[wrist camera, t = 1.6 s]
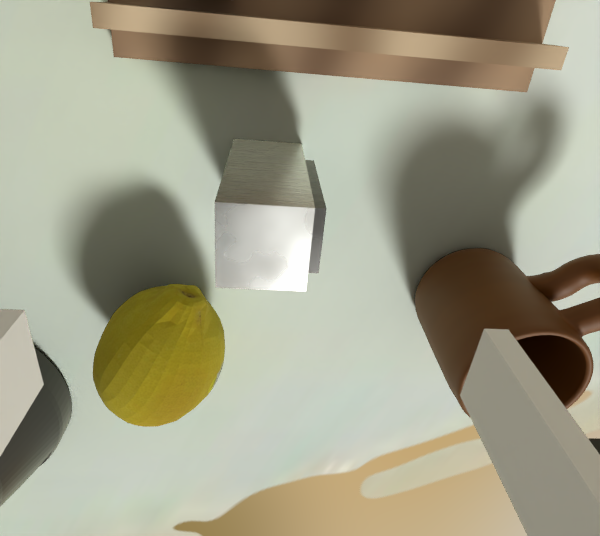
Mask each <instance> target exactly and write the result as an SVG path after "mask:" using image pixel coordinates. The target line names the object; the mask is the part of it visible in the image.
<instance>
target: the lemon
mask: <svg viewBox="0 0 600 536" xmlns="http://www.w3.org/2000/svg"><path fill="white" fill-rule="evenodd" d="M224 352H225V340H224V330H223V327H222V324H221V321H220V319H219V317H218V315H217V313H216V312H215V310H214V309H213V307H212V306H211V305H210V303H209V302H208V301H207V300H206V298H205V297H204V295H203V294H202V292H201V290H200V289H199V288H198V287H197V286H194V285H183V284H169V285H167V286H159V287H153V288H149V289H146V290H143V291H140V292H138V293H137V294H135V295H133V296H132V297H131V298H129V299H128V300H127V301H126V302H125V303H123V304H122V305H121V306H120V307H119V308H118V309H117V310H116V311H115V312H114V314H113V315H112V317H111V318H110V320H109V322H108V324H107V326H106V328H105V330H104V332H103V334H102V336H101V339H100V341H99V344H98V346H97V349H96V352H95V356H94V363H93V380H94V383H95V386H96V389H97V391H98V394H99V396H100V397H101V399H102V401H103V402H104V404H105V405H106V407H107V408H108V409H109V410H110V411H112V412H113V413H114V414H115V415H117V416H118V417H119V418H121V419H123V420H124V421H126V422H127V423H131V424H134V425H138V426H160V425H163V424H167V423H170V422H174V421H177V420H178V419H180V418H181V417H182V416H184V415H185V414H187V413H188V412H190V411H191V410H192V409H194V408H195V407H196V406H197V405H198V404H199V403H200V402H201V401H202V400H203V399H204V398H205V397H206V396H207V395H208V394H209V392H210V391H211V390H212V389H213V387H214V385H215V383H216V381H217V379H218V377H219V374H220V372H221V369H222V366H223V361H224Z"/></svg>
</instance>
